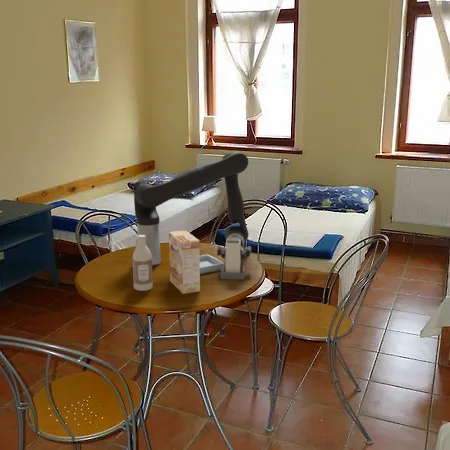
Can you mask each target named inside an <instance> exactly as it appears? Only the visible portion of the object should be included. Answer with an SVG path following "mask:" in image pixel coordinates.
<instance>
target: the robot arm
mask: <svg viewBox="0 0 450 450" xmlns="http://www.w3.org/2000/svg"><path fill="white" fill-rule="evenodd" d="M248 166H249V159H248V156H246V154H244V153H242V152H239V151H230V152H227V153H225V154H224V155H223V157H222V159H221V160H218V161H214V162H210V163H204V164H200V165H196V166H192V167H190V168H187V169H186V170H183V171H181V172H180V173H178V174H177V175H175V177H174V178H172V179H170V180H169V181H168V180H167V181H166V182H163V183H160V184H157V185H152V184H149V183H140V184H139V185H138V186H137V187H136V188H135V191H134V194H133V201H134V202H133V204H134V214H135V218H136V227H137V228H136V230H137V232H136V233H137V236H138V235H145V236H146V246H147V247H148V249H149V250H150V252H151V255H152V266H156V265H158V264H159V265H160V264H161V232H160V230H161V229H160V228H161V227H160V216H159V213H158V211H157V207H159V206H161V205H163V204H164V203H166V202H168V201H170V200H172V199H175V198H177V197H180V196H182V195H185V194H188V193H190V192H191V193H192V192H193V191H196V190H199V189H201V188H203V187H206V186H208V185H210V184H212V183H215V182H216V181H219V180H221V179H223V178H224V183H225V188H226V198H227V199H226V200H227V218H228V220H229V221H232V222H237V223H238V224H239V225H229V226H227V227H225V229H224V238H225V240H227V238H228V237H240V239H241V253H240V260H244V259H245V258H246V257H250V256H251V253H252V246H251V245H248V246H246V247H245V242H247V240H248V239H249V230H248V227H247V225H246V221H245V213H244V212H245V211H244V210H245V209H244V199H243V195H242V191H241V189H240V186H239V174H241V173H243V172H244V171H245V170H247V168H248ZM137 246H138V239H137V240H135V249H136V248H137ZM216 246H217V247H216V248H217V249H216V255H217V256H220V257H221V258H222V259H223V260H226V244H225V245H224V246H221V245H219V244H217V245H216Z"/></svg>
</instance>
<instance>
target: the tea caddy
mask: <svg viewBox="0 0 450 450" xmlns="http://www.w3.org/2000/svg"><path fill="white" fill-rule="evenodd" d="M225 240H226V239H225ZM225 245H226V255H225V272H238V273H241V256H240V253H241V239H240V237H228V238H227V240H226V241H225Z"/></svg>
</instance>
